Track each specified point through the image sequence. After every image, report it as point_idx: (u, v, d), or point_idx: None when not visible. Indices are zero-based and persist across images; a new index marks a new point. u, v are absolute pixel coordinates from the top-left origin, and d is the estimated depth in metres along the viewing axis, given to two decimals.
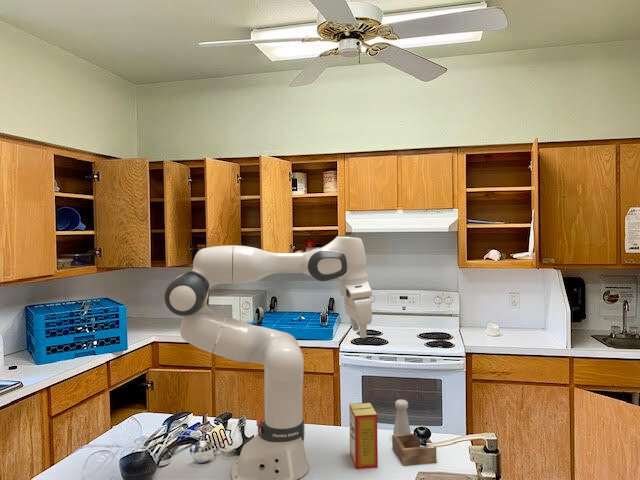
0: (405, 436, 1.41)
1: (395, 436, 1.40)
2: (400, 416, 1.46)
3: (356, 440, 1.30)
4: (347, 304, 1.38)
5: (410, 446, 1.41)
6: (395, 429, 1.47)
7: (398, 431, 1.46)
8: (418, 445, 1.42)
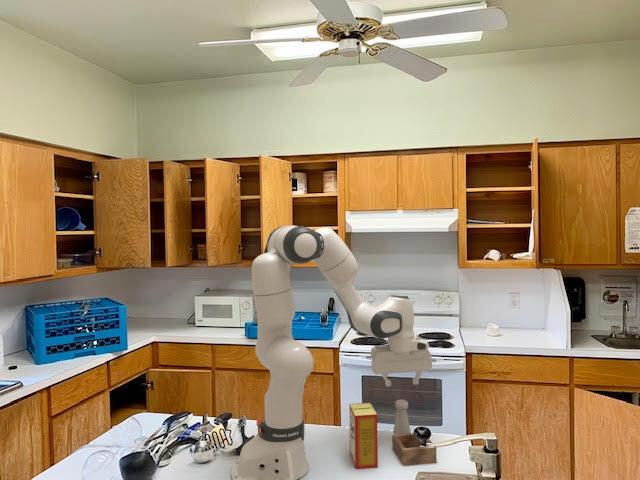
0: (405, 436, 1.41)
1: (395, 436, 1.40)
2: (400, 416, 1.46)
3: (356, 440, 1.30)
4: (389, 362, 1.46)
5: (410, 446, 1.41)
6: (395, 429, 1.47)
7: (398, 431, 1.46)
8: (418, 445, 1.42)
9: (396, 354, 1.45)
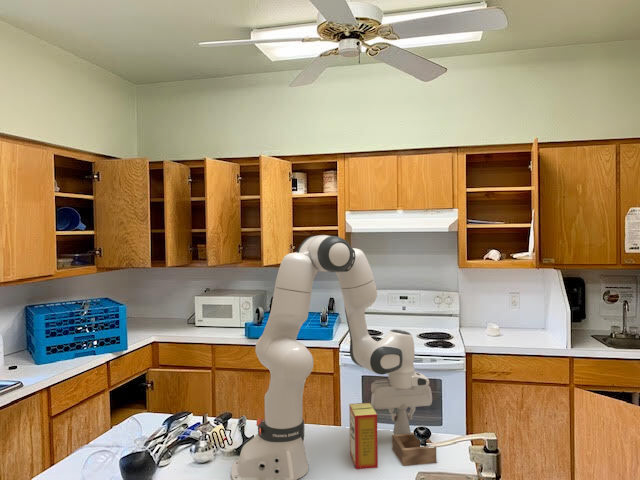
0: (405, 436, 1.41)
1: (395, 436, 1.40)
2: (400, 416, 1.46)
3: (356, 440, 1.30)
4: (389, 397, 1.46)
5: (410, 446, 1.41)
6: (395, 429, 1.47)
7: (398, 431, 1.46)
8: (418, 445, 1.42)
9: (396, 389, 1.46)
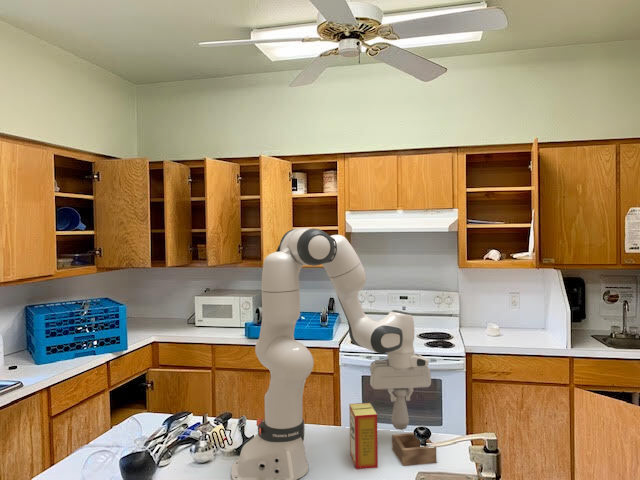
0: (405, 436, 1.41)
1: (395, 436, 1.40)
2: (398, 403, 1.46)
3: (356, 440, 1.30)
4: (388, 377, 1.45)
5: (410, 446, 1.41)
6: (393, 416, 1.47)
7: (395, 418, 1.46)
8: (418, 445, 1.42)
9: (395, 369, 1.45)
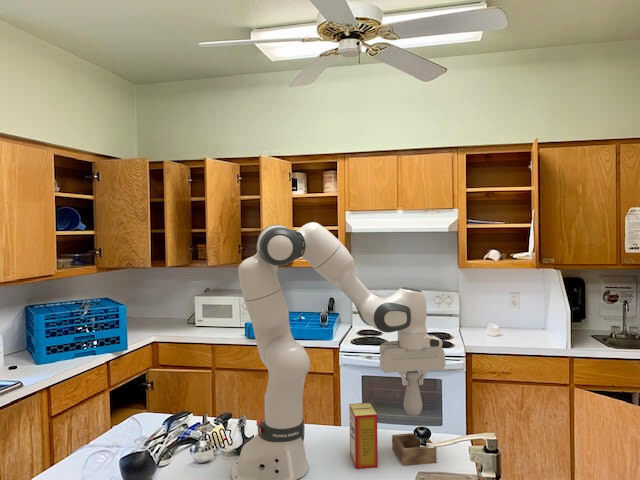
0: (405, 436, 1.41)
1: (395, 436, 1.40)
2: (411, 387, 1.36)
3: (356, 440, 1.30)
4: (399, 359, 1.34)
5: (410, 446, 1.41)
6: (405, 401, 1.36)
7: (408, 403, 1.35)
8: (418, 445, 1.42)
9: (407, 351, 1.35)
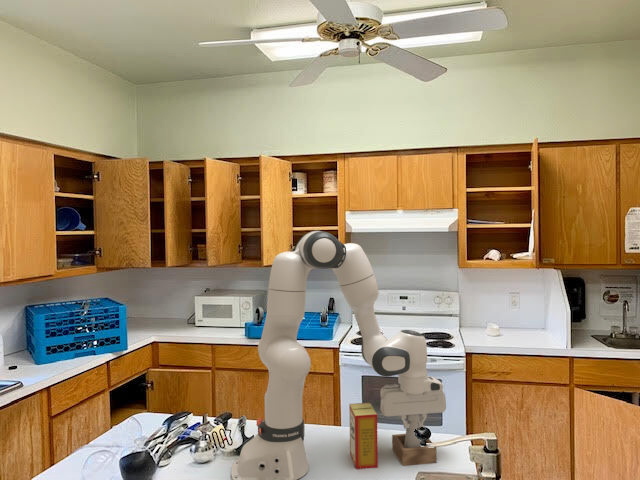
0: None
1: (395, 436, 1.40)
2: (411, 428, 1.36)
3: (356, 440, 1.30)
4: (400, 403, 1.35)
5: None
6: (406, 442, 1.37)
7: (408, 444, 1.35)
8: None
9: (408, 395, 1.35)
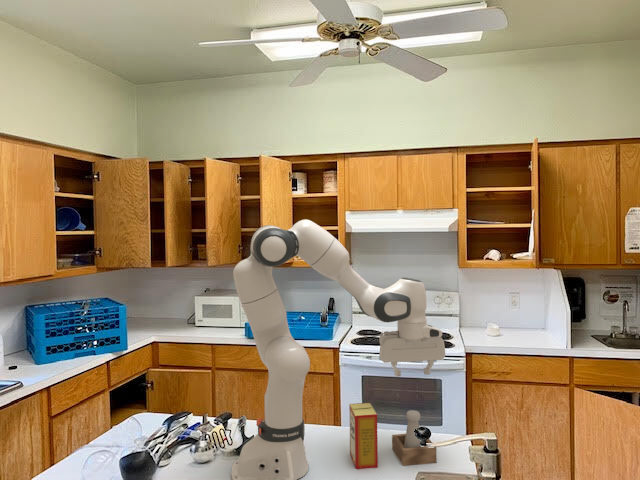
0: None
1: (395, 436, 1.40)
2: (411, 428, 1.36)
3: (356, 440, 1.30)
4: (399, 349, 1.35)
5: None
6: (406, 442, 1.37)
7: (408, 444, 1.35)
8: None
9: (407, 341, 1.35)
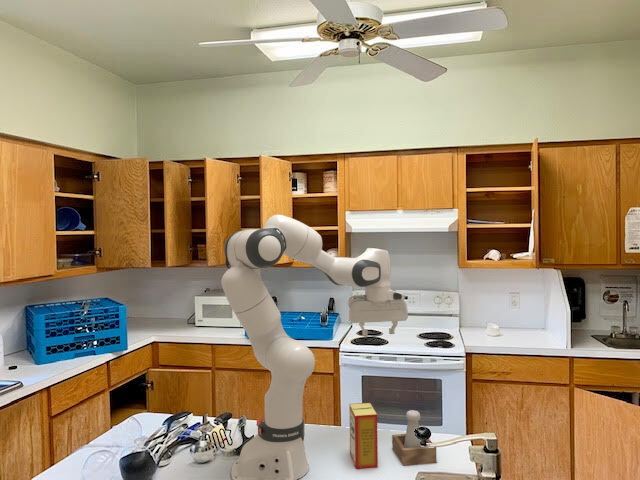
0: None
1: (395, 436, 1.40)
2: (411, 428, 1.36)
3: (356, 440, 1.30)
4: (366, 311, 1.50)
5: None
6: (406, 442, 1.37)
7: (408, 444, 1.35)
8: None
9: (373, 303, 1.50)
